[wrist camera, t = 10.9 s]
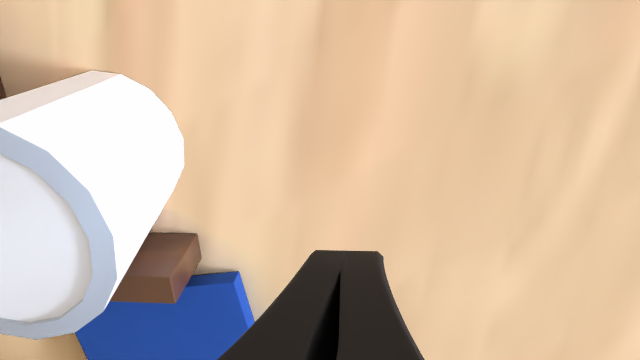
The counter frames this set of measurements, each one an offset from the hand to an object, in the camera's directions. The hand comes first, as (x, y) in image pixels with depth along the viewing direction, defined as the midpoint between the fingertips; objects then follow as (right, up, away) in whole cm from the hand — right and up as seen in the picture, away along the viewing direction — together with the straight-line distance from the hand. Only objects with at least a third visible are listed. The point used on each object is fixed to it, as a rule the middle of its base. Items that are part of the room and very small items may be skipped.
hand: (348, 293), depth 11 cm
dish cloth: (-7, -5, +14) cm, 16 cm away
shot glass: (-8, +4, +10) cm, 14 cm away
